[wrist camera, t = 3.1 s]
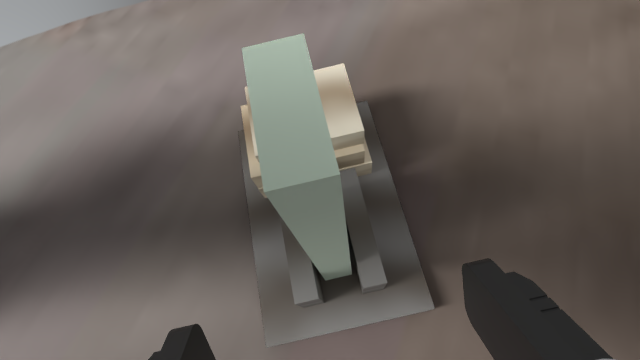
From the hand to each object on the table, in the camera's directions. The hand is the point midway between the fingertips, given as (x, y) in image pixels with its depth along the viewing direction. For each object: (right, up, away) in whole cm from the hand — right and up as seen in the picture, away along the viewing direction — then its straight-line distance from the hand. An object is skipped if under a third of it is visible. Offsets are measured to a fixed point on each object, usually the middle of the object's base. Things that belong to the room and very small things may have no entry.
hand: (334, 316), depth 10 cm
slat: (0, -1, +16) cm, 16 cm away
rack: (0, +1, +18) cm, 18 cm away
